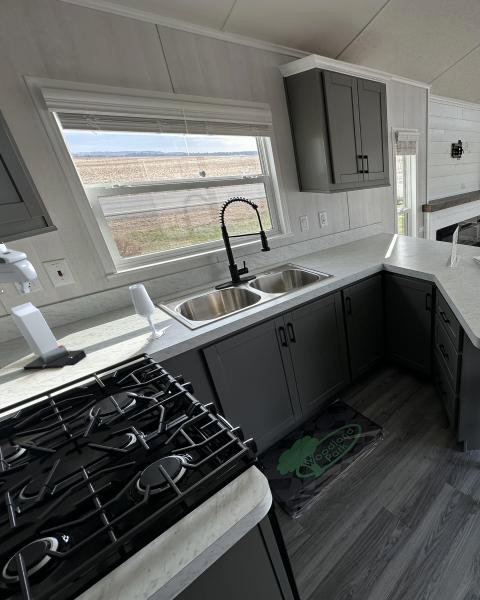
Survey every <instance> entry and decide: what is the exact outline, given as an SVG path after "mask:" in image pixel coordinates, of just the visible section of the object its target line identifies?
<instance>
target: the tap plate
mask: <svg viewBox="0 0 480 600" xmlns="http://www.w3.org/2000/svg"><path fill="white" fill-rule="evenodd" d="M67 351H68V354H66V355H64V356H62V357H60V358H58V359H56V360H54V361H51V362H49V363H44V361H43V360H42V358H41V356H38V357H37V358H35V359H33V360H32V361H31V362H29V363H27V364H25V365H24V366H23V367H22V369H23V370H25V371H27V370H43V369H44V370H48V369H64V367H69V366H75V365H77V364H78V363H79V362H81V361H82V360H83V359H85V358H86V357H87V354H86V352H85V350H84V349H81V350H80V349H78V350H77V349H76V350H70V349H67Z"/></svg>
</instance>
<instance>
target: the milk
mask: <svg viewBox="0 0 480 600" xmlns="http://www.w3.org/2000/svg"><path fill="white" fill-rule="evenodd" d="M10 310H11V313H10V317H11V319H12V320H13V322H14V323H15V325H16V327H17V328H18V330H19V331H20V333H21V335H22V337H23V338H24V340H25V342H26V343H27V344H28V346H29V348H30V350H31V351H32V353H33V354H34V356H36V357H37V356H38V357H40V355H42V354H44V353H46V352H49V351H51V350H53V349H55V348H57V347H58V346H60V344H59V342H58V341H57V339H56V338H55V335H54V333H53V331H52V330H51V328H50V327H49V325H48V323H47V321H46V320H45V318H44V316H43V314H42V312H41V311H40V309H39V308H37V307H35V305H33V304H32V302H30V301H29V302H26V303H22V304H19V305H17V306H14V307H11V308H10Z"/></svg>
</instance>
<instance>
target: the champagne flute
mask: <svg viewBox="0 0 480 600" xmlns="http://www.w3.org/2000/svg"><path fill="white" fill-rule="evenodd" d="M128 290H129V293H130V297H131V301H132V304H133V307H134V311H135V313H136V315H138V316H140V317H142V318H146V319H147V322H148V324H149V327H150V329H151V331H152V333H150V334H149V335H148V336H147V337H148V339H154V340H156V339H155V338H158V337H160V336H161V335H162V334H163V332H164V331H156V327H155V325H154V322H153V320H152V318H151V317H152V315H153V314H154V312H155V310H156V307H155V305H154V303H153V301H152V300H151V297H150V296H149V294H148V292H147V290H146V288H145V285H143V284H142V283H138V284H134V285H130V286H129V287H128ZM160 338H161V337H160ZM148 339H147V340H148ZM158 339H159V338H158Z"/></svg>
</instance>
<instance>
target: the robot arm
mask: <svg viewBox="0 0 480 600" xmlns="http://www.w3.org/2000/svg"><path fill="white" fill-rule="evenodd" d="M27 258H28V256H27V254H26V253H25V252H22V251H18V250H14V249H11V248H7V246H6V244H4V243H3V244H0V284H13V283H14V284H15V283H16V284H18V285H19V286H20V289H18V290H19V292H20V293H21V294H28V293H29V294H30V293H31V290H30V288H29V286H30V282H32V281H35V280H37V278H38V274H37V271H36V270H35V268H34V266H33V264H32V263H31V262H30V261H29V260H27ZM3 294H4V291H3V289H2V288H0V295H3Z"/></svg>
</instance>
